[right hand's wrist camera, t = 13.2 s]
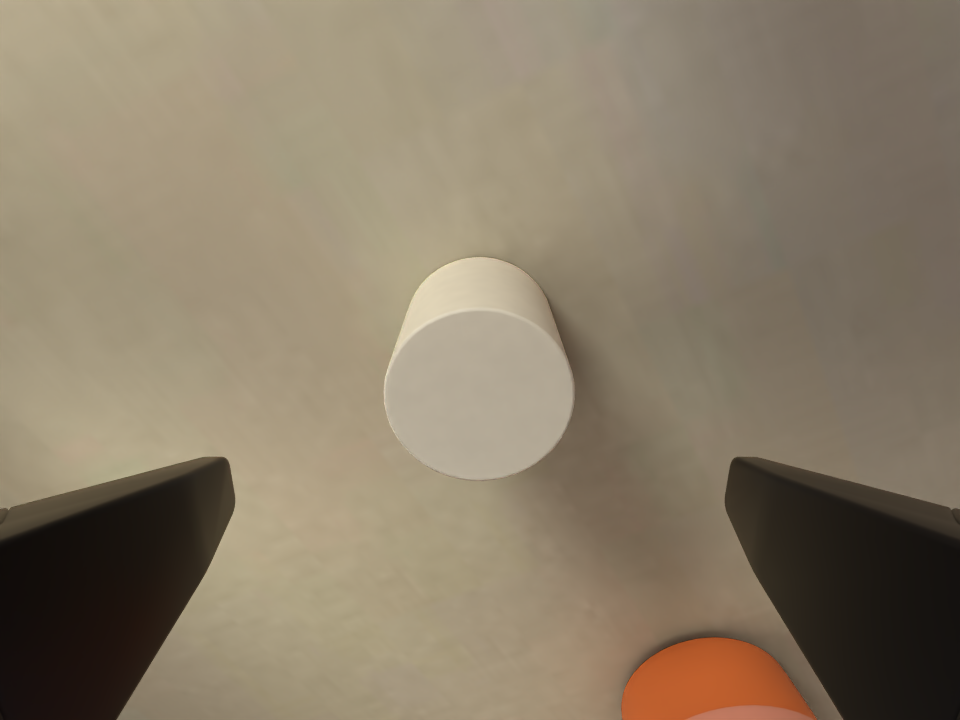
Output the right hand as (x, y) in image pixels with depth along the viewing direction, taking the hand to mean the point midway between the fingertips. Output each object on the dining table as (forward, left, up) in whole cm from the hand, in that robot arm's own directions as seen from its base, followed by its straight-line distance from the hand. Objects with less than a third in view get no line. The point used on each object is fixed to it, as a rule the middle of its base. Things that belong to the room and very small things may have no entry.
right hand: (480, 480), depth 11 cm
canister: (0, 0, -8) cm, 8 cm away
